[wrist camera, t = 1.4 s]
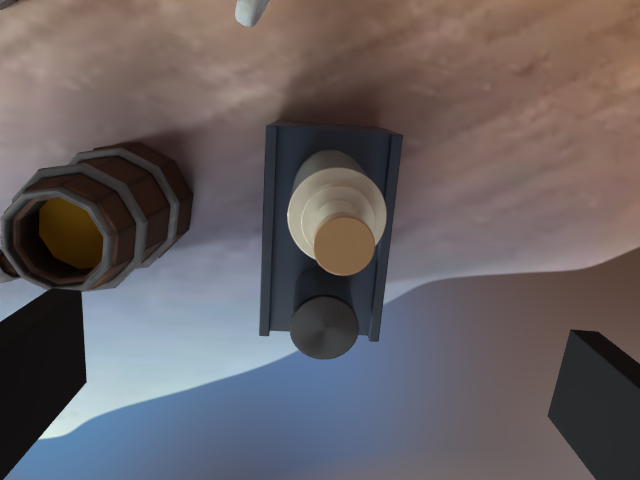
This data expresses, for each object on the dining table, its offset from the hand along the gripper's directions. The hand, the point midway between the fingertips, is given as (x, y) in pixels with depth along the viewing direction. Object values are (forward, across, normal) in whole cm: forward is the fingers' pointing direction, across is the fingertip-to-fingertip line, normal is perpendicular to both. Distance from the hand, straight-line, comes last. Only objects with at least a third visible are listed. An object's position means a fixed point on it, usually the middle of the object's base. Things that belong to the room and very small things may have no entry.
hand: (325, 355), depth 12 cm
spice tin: (+24, +1, -8) cm, 25 cm away
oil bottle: (+24, +1, +1) cm, 24 cm away
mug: (+35, -20, -5) cm, 41 cm away
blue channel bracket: (+35, +1, -3) cm, 35 cm away
